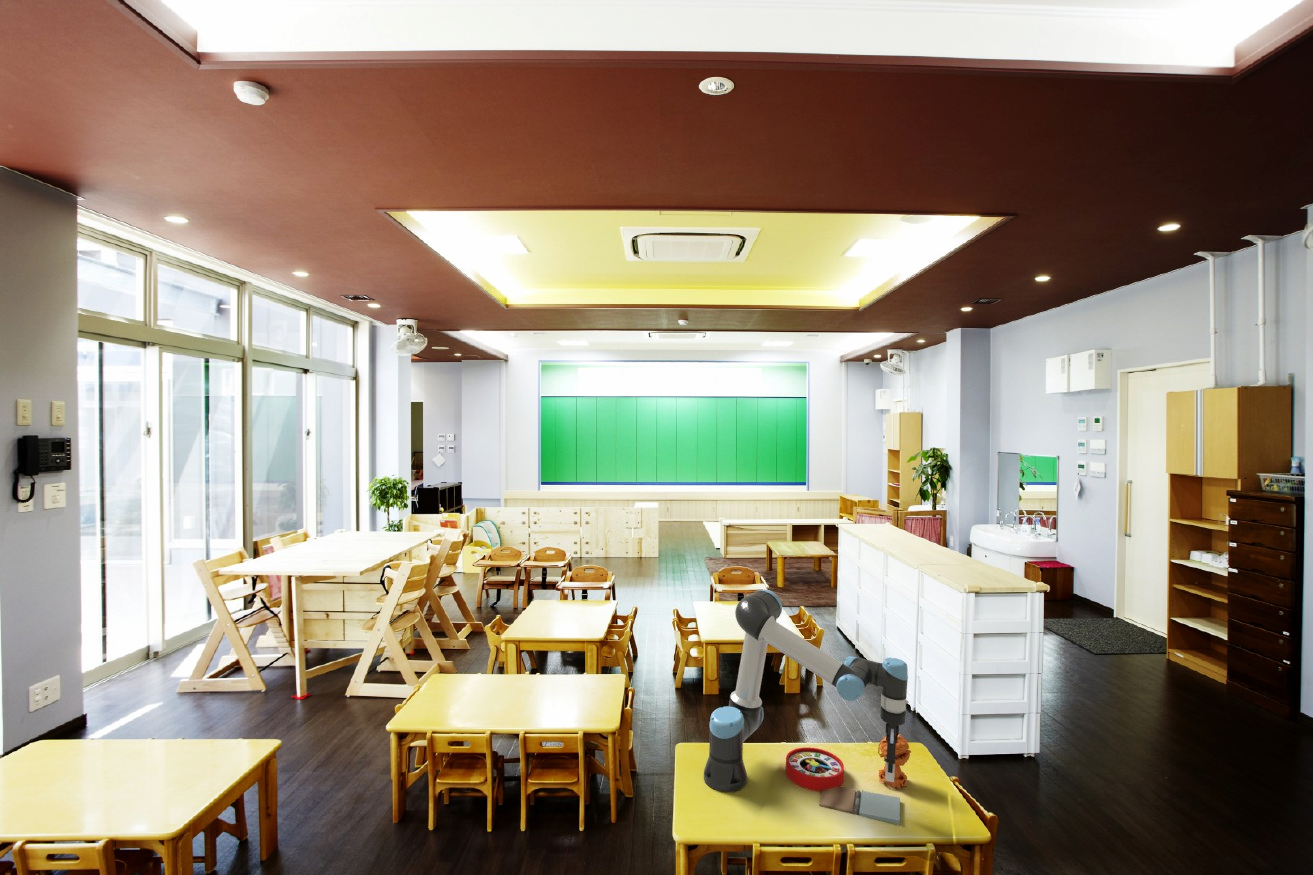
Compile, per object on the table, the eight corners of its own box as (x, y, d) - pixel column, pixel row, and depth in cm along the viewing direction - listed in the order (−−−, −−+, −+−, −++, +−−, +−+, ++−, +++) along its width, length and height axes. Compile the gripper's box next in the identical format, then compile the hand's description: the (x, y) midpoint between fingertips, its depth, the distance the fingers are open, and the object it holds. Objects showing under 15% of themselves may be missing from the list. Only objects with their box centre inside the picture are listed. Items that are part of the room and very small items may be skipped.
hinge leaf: (853, 816, 199) (853, 811, 199) (856, 794, 211) (856, 789, 211) (899, 825, 194) (899, 820, 194) (899, 801, 206) (899, 797, 206)
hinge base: (819, 808, 203) (819, 803, 203) (823, 786, 215) (823, 782, 215) (858, 817, 199) (858, 812, 199) (860, 795, 211) (860, 790, 211)
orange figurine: (913, 795, 211) (915, 743, 211) (879, 791, 213) (881, 739, 213) (907, 777, 222) (908, 727, 222) (874, 773, 224) (876, 724, 224)
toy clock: (791, 742, 234) (846, 754, 227) (790, 758, 234) (846, 770, 227) (781, 769, 216) (841, 783, 208) (780, 786, 216) (840, 800, 208)
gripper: (906, 719, 193) (902, 794, 194) (905, 702, 205) (901, 772, 206) (880, 714, 196) (876, 788, 197) (881, 697, 208) (877, 767, 209)
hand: (889, 780), depth 201 cm, fingers closed
